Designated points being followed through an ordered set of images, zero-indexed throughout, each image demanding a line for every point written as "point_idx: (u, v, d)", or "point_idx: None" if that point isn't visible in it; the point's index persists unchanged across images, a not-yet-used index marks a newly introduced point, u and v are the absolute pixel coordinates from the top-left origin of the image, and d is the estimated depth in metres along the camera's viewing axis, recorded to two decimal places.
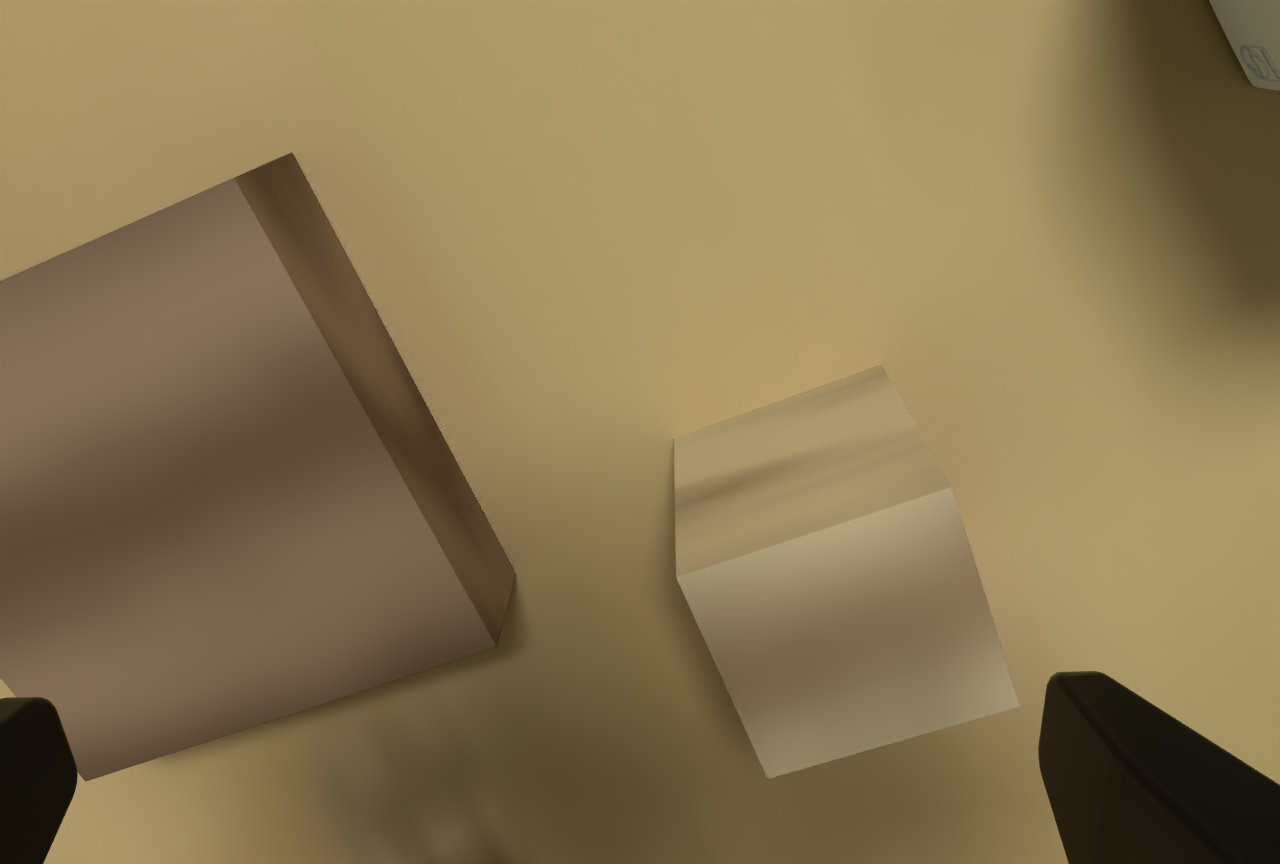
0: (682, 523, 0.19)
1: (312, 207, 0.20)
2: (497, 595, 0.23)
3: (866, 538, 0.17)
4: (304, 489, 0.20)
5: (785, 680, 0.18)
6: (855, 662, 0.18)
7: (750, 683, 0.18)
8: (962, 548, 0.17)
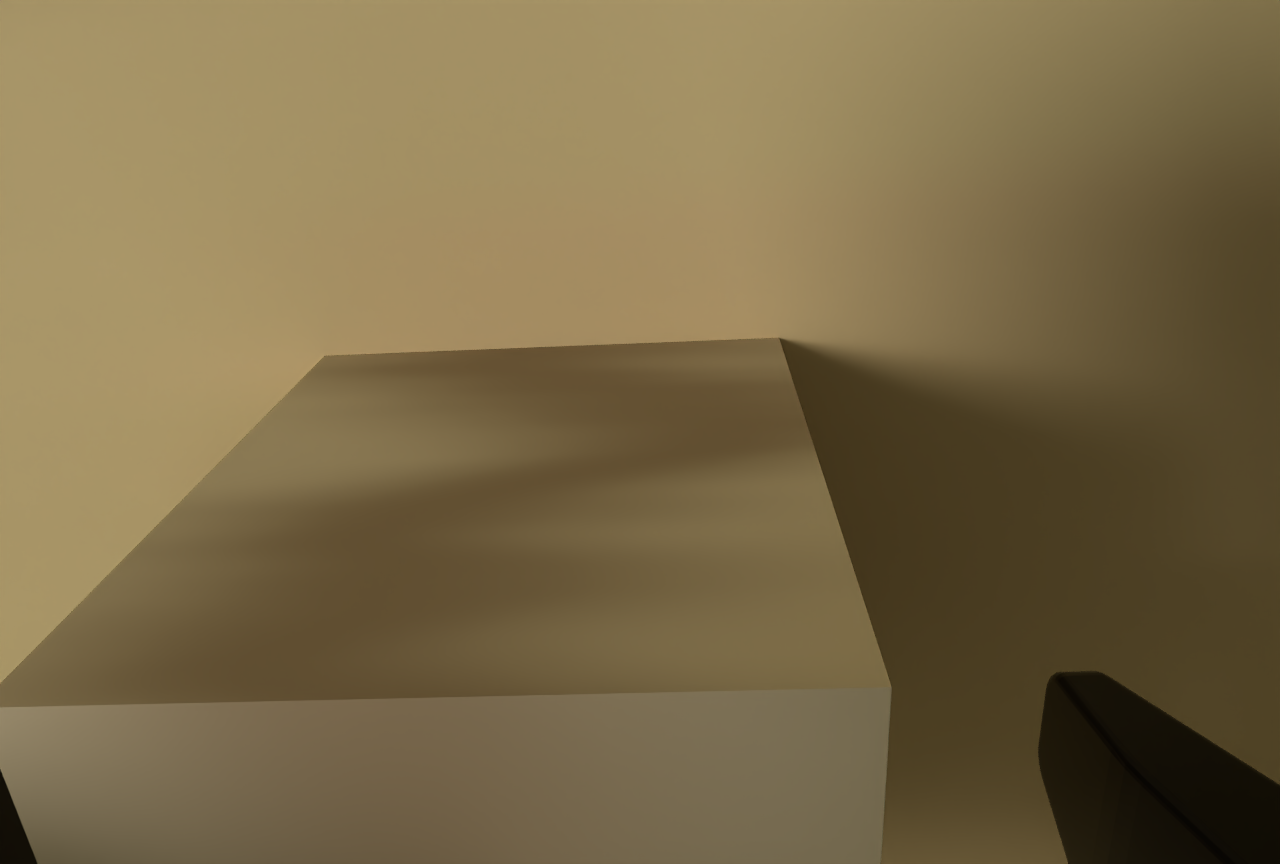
0: None
1: None
2: None
3: None
4: None
5: None
6: None
7: None
8: (202, 722, 0.05)
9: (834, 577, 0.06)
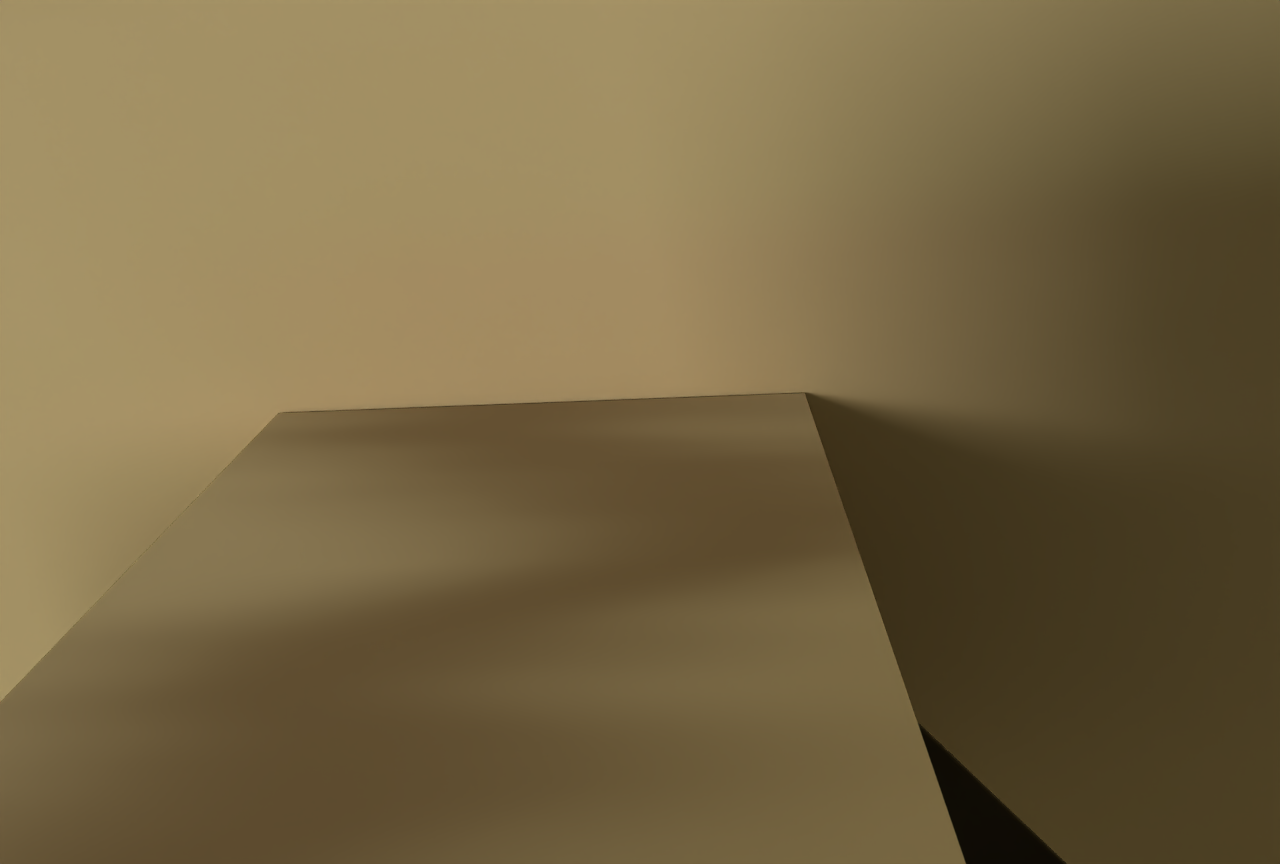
0: None
1: None
2: None
3: None
4: None
5: None
6: None
7: None
8: None
9: (903, 767, 0.05)
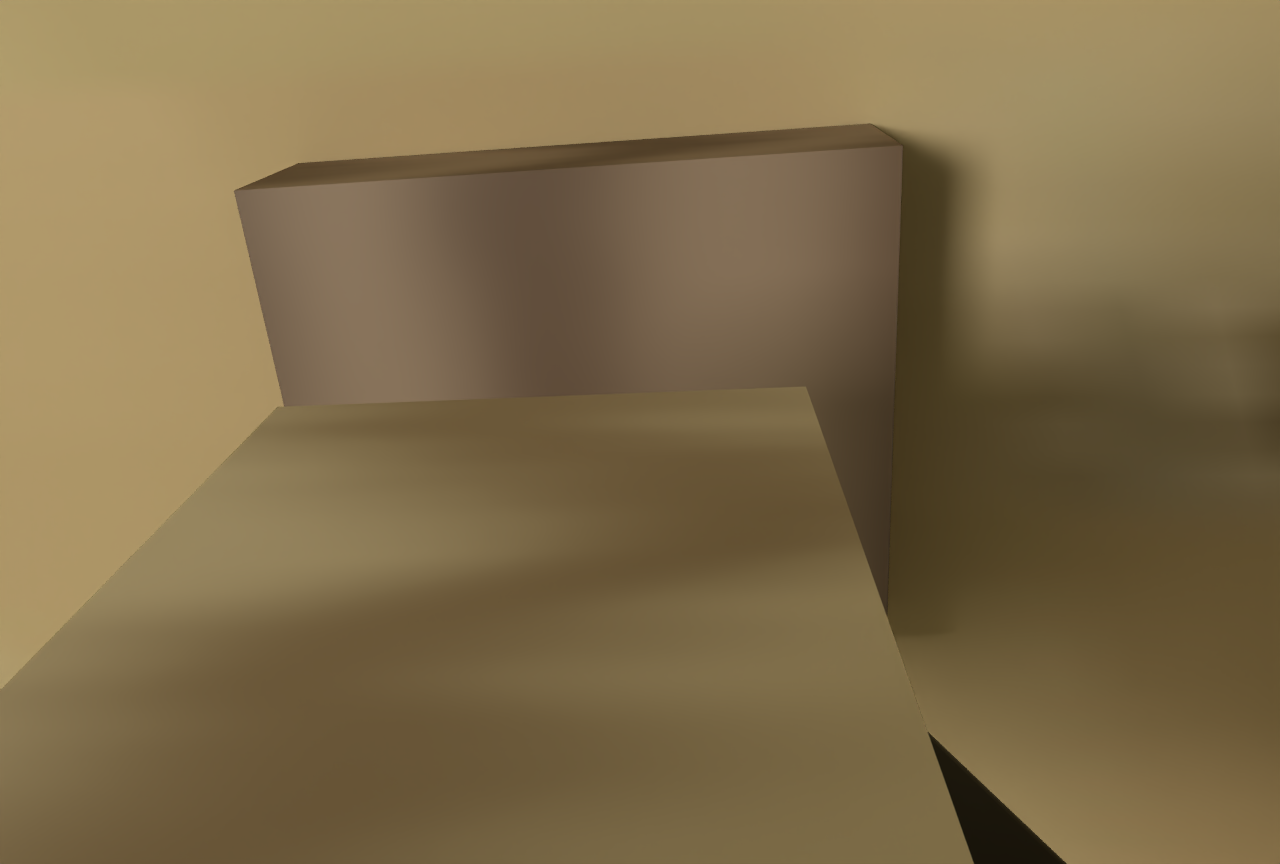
0: None
1: (348, 162, 0.19)
2: (859, 135, 0.17)
3: None
4: (601, 286, 0.17)
5: None
6: None
7: None
8: None
9: (907, 756, 0.05)
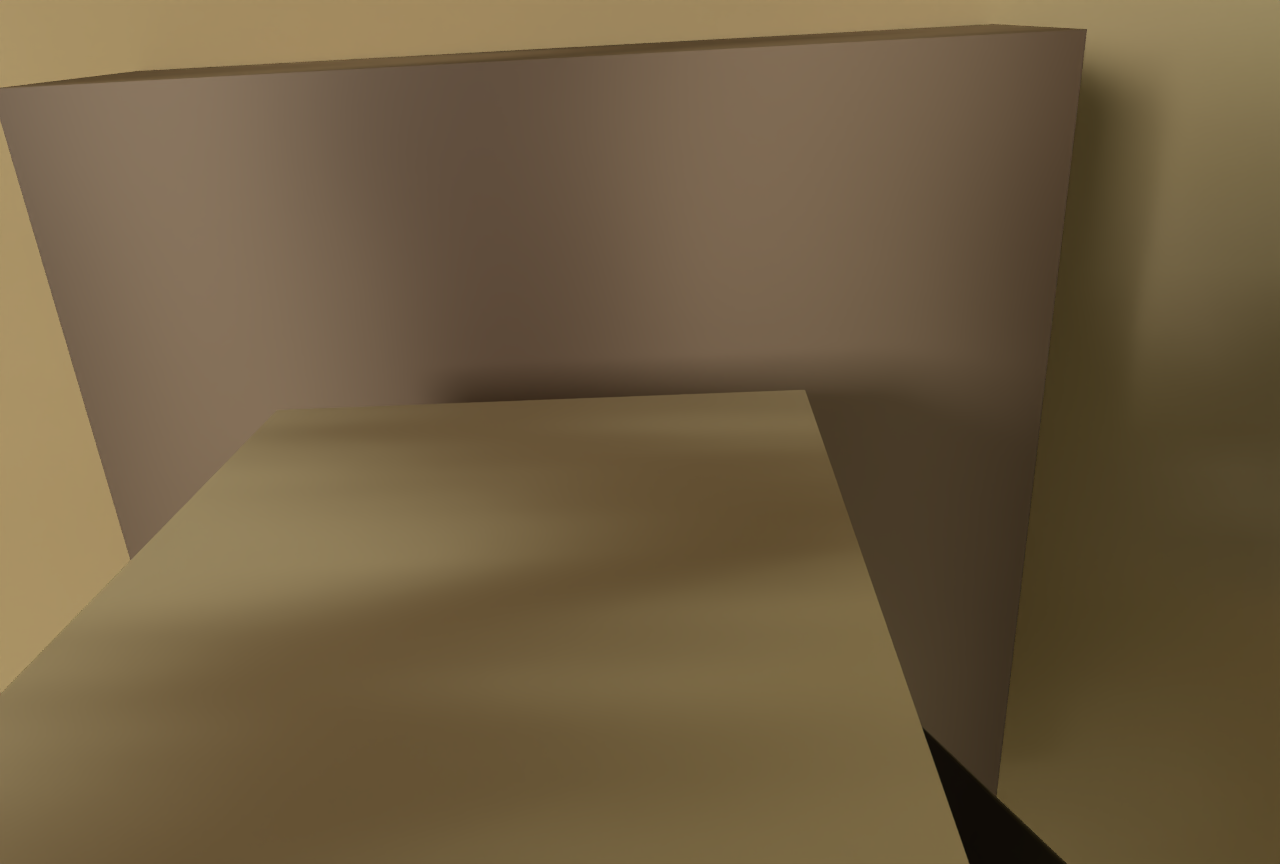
0: None
1: (207, 68, 0.12)
2: (994, 29, 0.11)
3: None
4: (588, 257, 0.11)
5: None
6: None
7: None
8: None
9: (905, 762, 0.05)
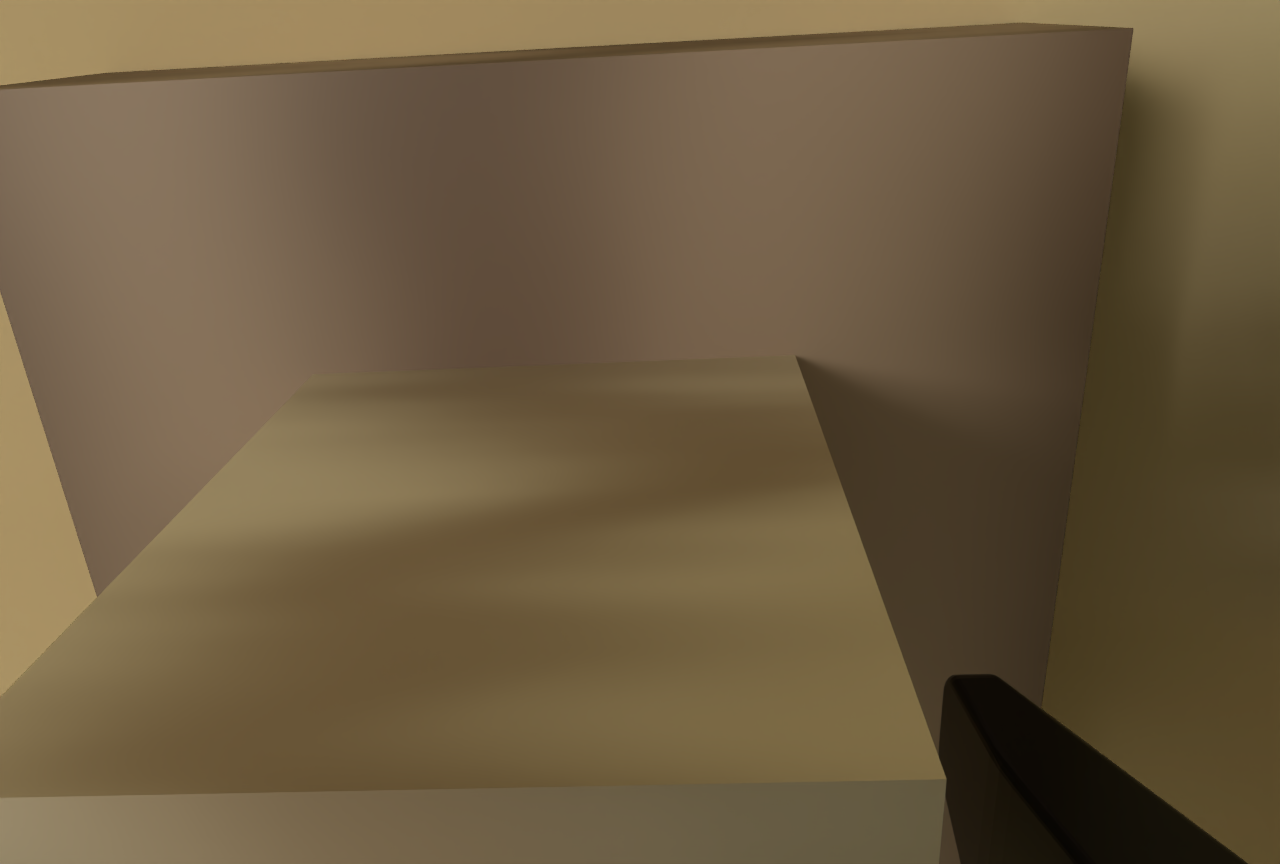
0: None
1: (179, 69, 0.12)
2: (1028, 28, 0.10)
3: None
4: (588, 274, 0.10)
5: None
6: None
7: None
8: (157, 816, 0.05)
9: (872, 639, 0.06)
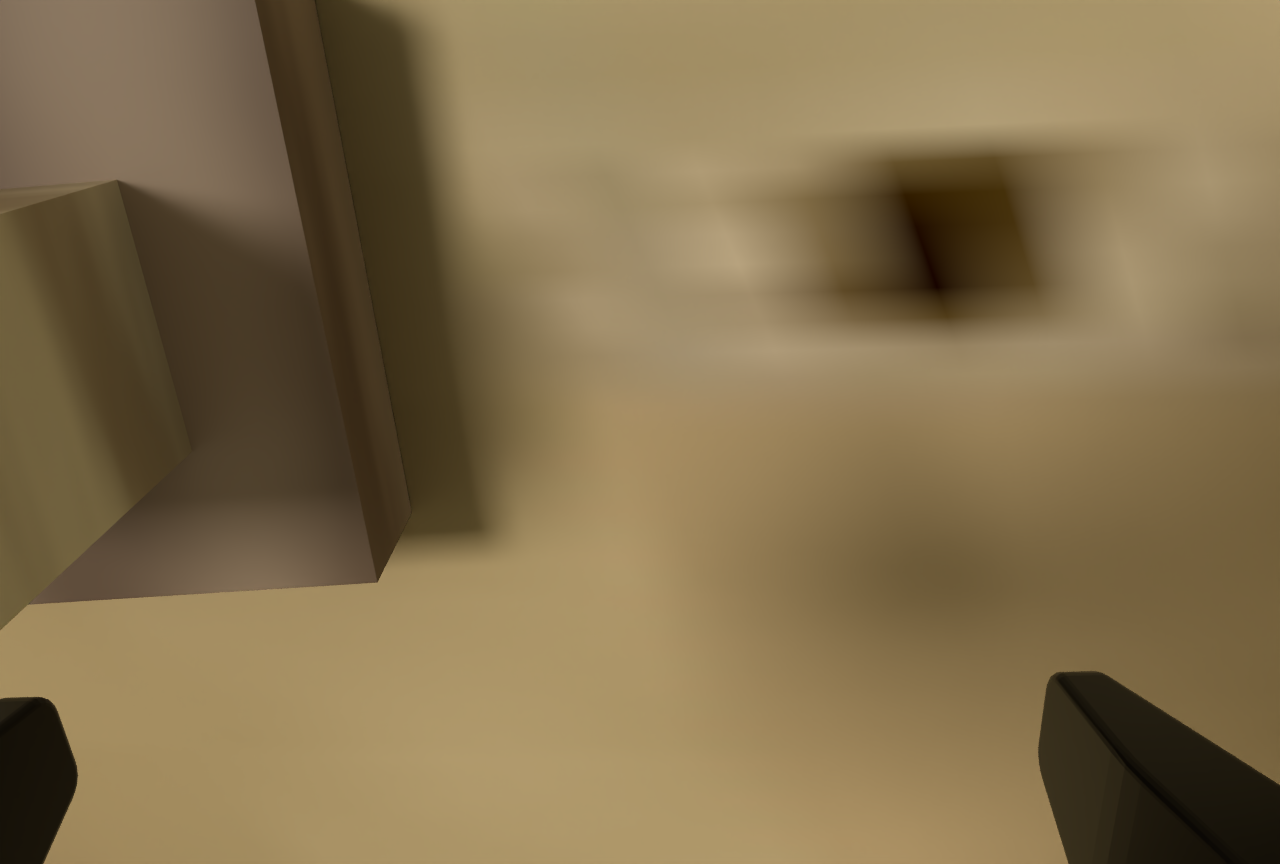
0: None
1: None
2: None
3: None
4: None
5: None
6: None
7: None
8: None
9: None
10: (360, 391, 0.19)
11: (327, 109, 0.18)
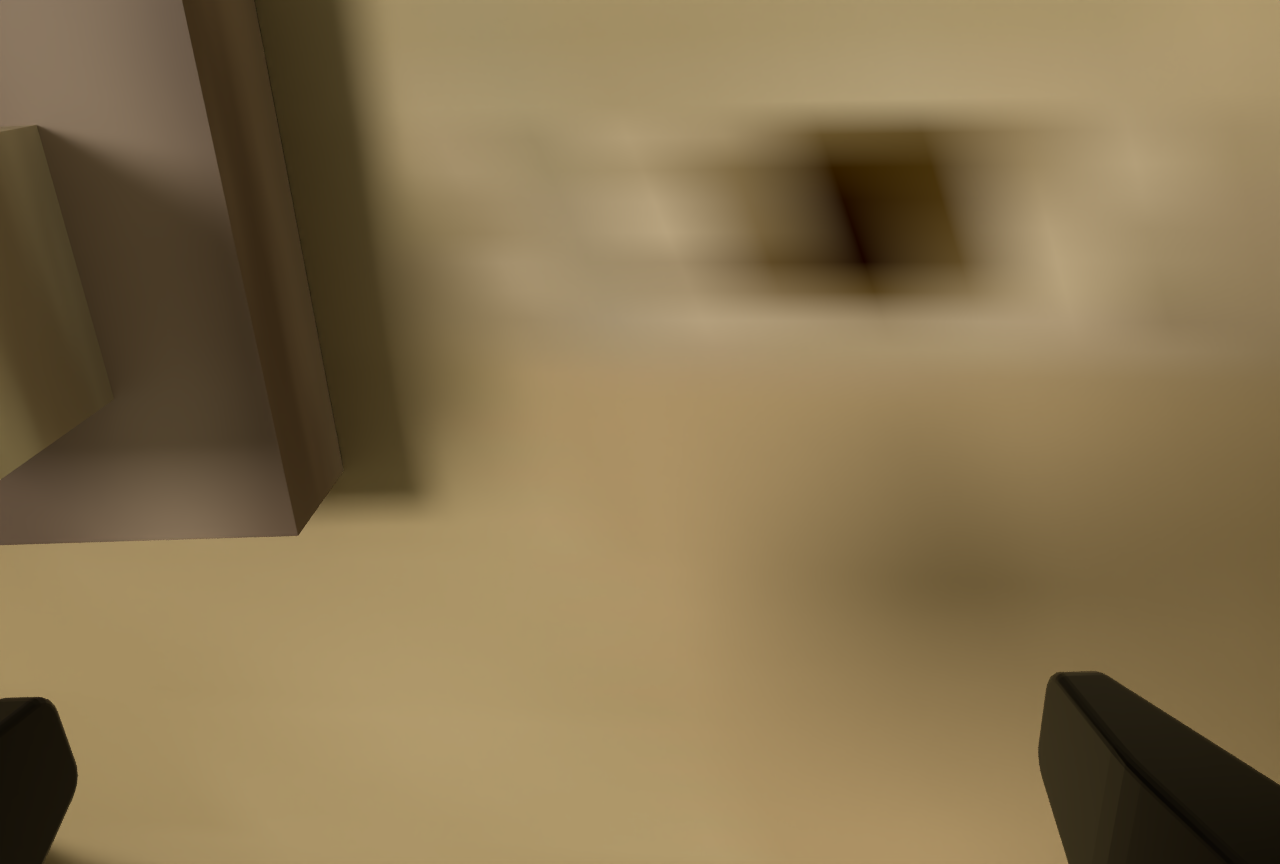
0: None
1: None
2: None
3: None
4: None
5: None
6: None
7: None
8: None
9: None
10: (285, 346, 0.19)
11: (256, 63, 0.19)
